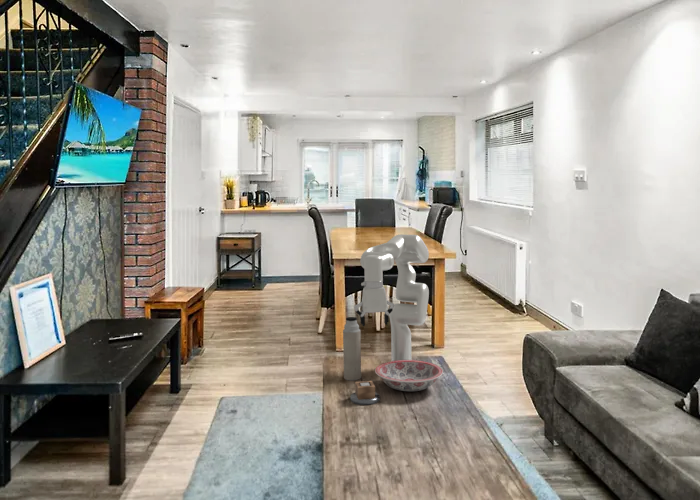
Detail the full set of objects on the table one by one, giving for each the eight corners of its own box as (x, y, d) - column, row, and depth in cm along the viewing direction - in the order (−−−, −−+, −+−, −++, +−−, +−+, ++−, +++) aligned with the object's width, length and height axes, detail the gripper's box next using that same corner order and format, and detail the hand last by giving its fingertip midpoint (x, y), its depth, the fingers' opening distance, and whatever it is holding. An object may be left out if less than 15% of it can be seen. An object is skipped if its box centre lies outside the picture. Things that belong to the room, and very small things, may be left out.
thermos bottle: (361, 374, 262) (360, 315, 259) (361, 380, 254) (360, 319, 252) (344, 374, 263) (343, 315, 260) (343, 380, 255) (342, 319, 252)
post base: (348, 395, 236) (348, 380, 235) (376, 393, 238) (376, 378, 237) (352, 406, 224) (352, 390, 224) (382, 403, 226) (382, 388, 225)
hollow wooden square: (358, 399, 227) (358, 387, 227) (355, 393, 234) (355, 381, 233) (375, 398, 228) (375, 386, 228) (372, 392, 235) (371, 380, 234)
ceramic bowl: (446, 379, 254) (446, 362, 253) (438, 403, 226) (438, 383, 225) (383, 374, 262) (382, 358, 261) (368, 397, 234) (368, 378, 233)
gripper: (354, 287, 229) (355, 328, 232) (396, 285, 232) (396, 325, 234) (351, 284, 237) (353, 323, 239) (392, 282, 239) (392, 321, 241)
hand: (374, 324), depth 237 cm, fingers open, 9 cm apart
